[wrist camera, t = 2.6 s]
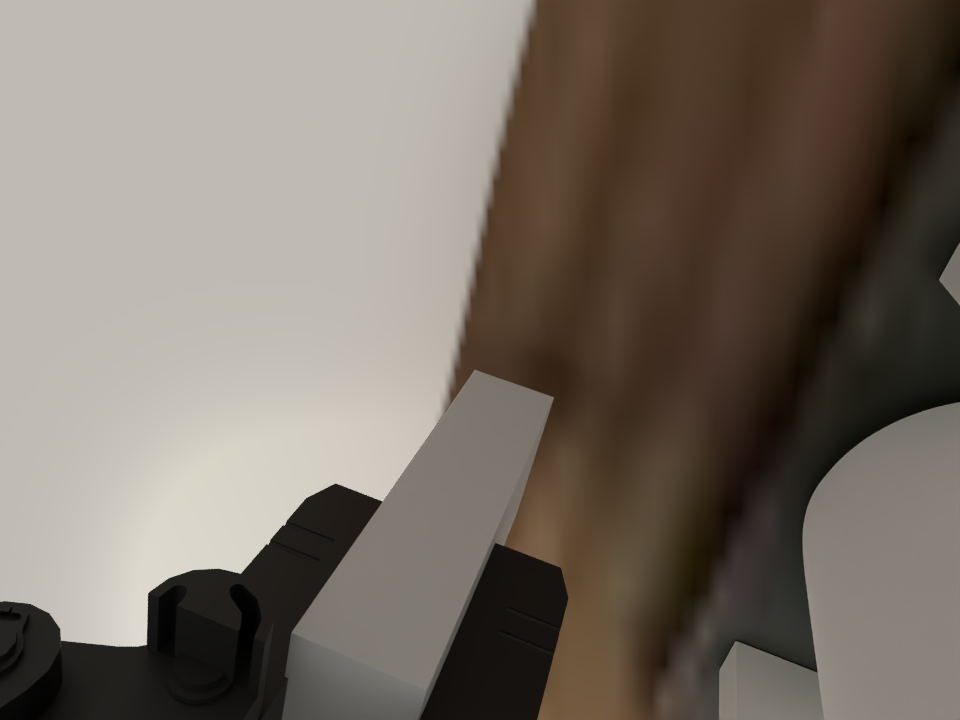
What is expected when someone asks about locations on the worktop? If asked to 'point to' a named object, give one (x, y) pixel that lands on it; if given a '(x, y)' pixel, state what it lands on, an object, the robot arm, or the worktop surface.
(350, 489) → the robot arm
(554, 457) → the worktop surface
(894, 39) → the worktop surface
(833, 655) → the can
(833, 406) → the worktop surface
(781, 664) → the trap tray
